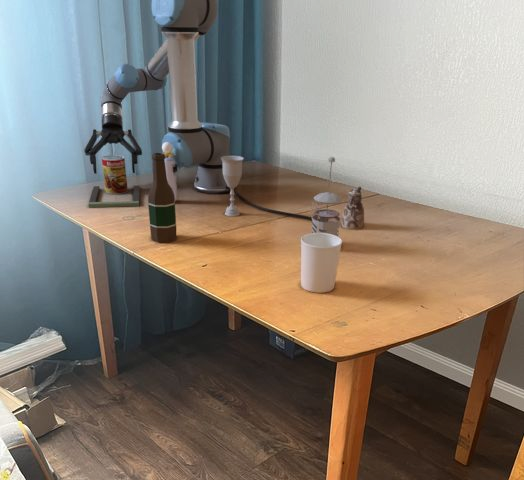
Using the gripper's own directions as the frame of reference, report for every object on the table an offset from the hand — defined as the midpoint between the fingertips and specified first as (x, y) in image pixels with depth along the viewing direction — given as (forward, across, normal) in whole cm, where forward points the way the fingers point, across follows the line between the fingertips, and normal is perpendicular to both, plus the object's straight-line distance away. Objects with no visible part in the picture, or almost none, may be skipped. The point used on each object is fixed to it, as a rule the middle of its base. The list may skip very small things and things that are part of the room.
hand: (114, 171), depth 198 cm
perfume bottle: (+16, -19, +6) cm, 25 cm away
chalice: (+26, -39, +16) cm, 50 cm away
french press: (+48, -62, +38) cm, 87 cm away
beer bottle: (+42, -16, +32) cm, 55 cm away
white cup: (+68, -53, +58) cm, 104 cm away
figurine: (+37, -76, +27) cm, 89 cm away
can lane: (+11, 0, +1) cm, 11 cm away
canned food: (+6, 0, -5) cm, 7 cm away
